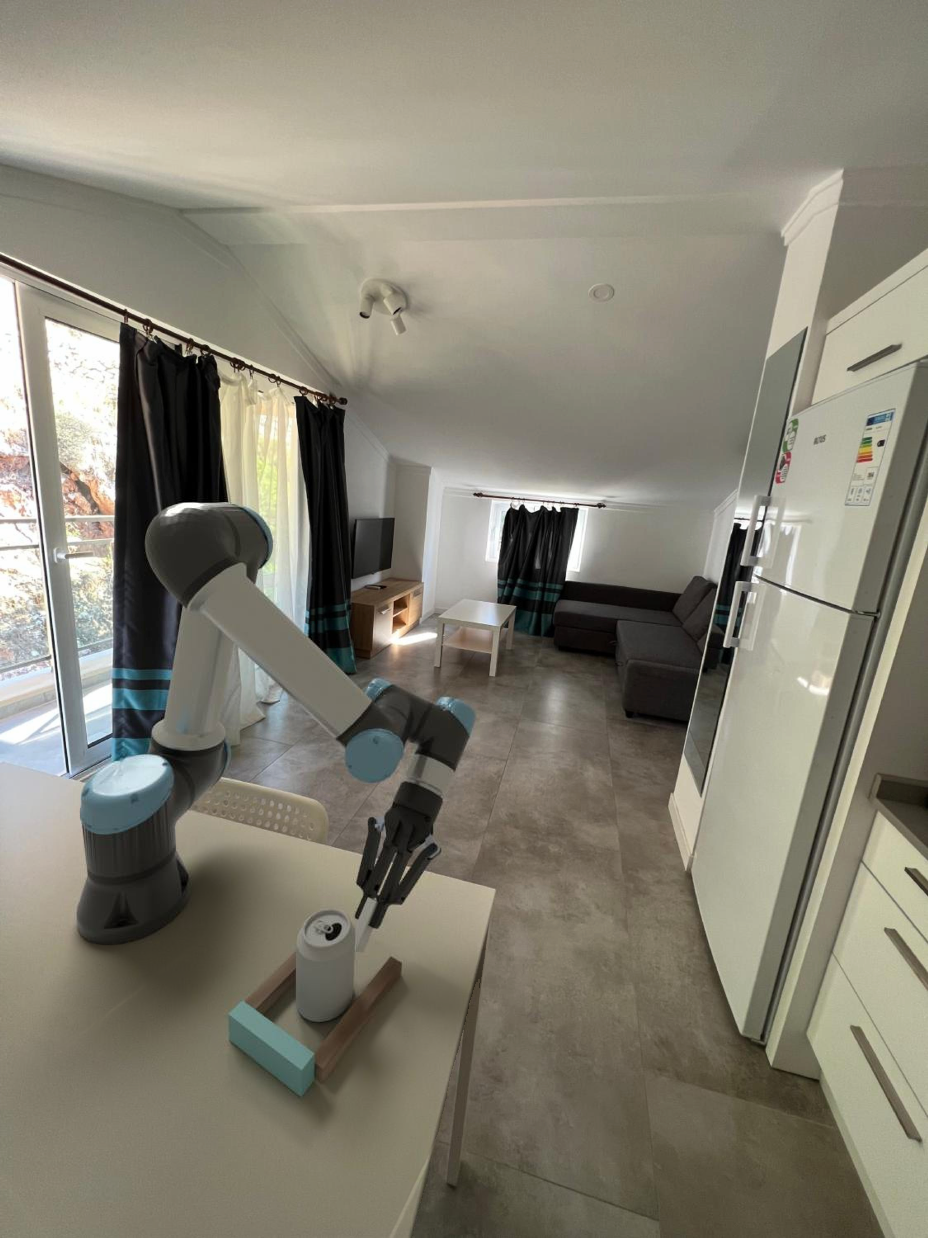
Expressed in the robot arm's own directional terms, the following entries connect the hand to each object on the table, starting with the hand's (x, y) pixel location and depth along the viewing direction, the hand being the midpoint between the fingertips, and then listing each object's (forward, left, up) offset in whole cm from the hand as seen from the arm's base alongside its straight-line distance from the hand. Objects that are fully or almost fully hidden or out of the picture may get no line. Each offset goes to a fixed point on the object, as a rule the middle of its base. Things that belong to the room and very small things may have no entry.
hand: (355, 949), depth 70 cm
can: (-1, -5, -4) cm, 7 cm away
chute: (-1, -5, -4) cm, 7 cm away
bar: (-1, -14, -4) cm, 15 cm away
